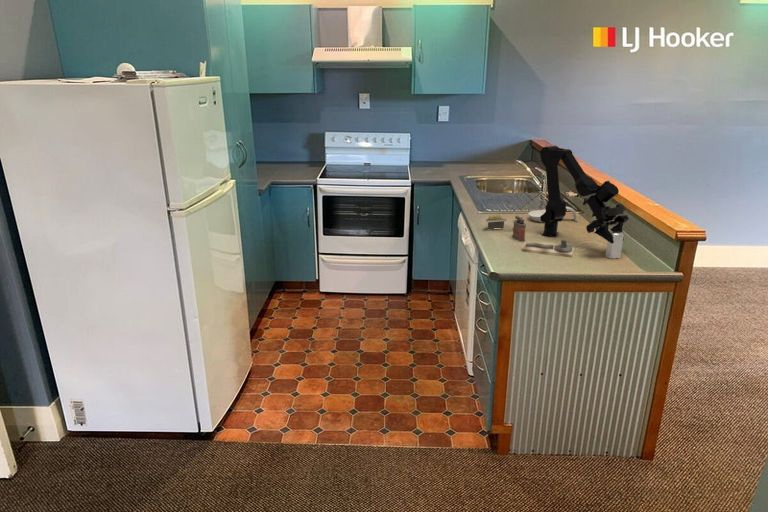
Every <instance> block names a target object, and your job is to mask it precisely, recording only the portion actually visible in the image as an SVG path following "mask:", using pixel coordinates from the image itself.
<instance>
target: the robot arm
mask: <svg viewBox="0 0 768 512" xmlns="http://www.w3.org/2000/svg"><path fill="white" fill-rule="evenodd" d="M539 157H540V159H541V163H542V164H543V165H544V167H545V173H546V185H547V187H546V188H547V195H548V196H547V197H548V201H547V203H546V205H545V209H546V212H545V213H544V214H543V215H542V216H540V219H541V221H542V222H541V223H543V224H544V225H543V231H542V234H541V236H544V237H545V236H547V237H554V238H555V237H558V235H559V232H558V226H559V225H558V224H559V222H563V219H564V218H565V216H566V215H567V211H568V210H566V206H567V203H566V201H564V202H563V200H562V199H561V191H560V190H561V189H560V182H559V178H560V177H559V170H558V169H559V168H558V166H559V164H560V161H561V162H562V163H563V165H564V166H565V167H566V169H567V171H568V172H569V174H570V175H571V178H572V179H573V180H574V187H575V190H576V193H577V194H578V195H579V196H580V197H586V198H584V199H583V203H582V206H587V205H588V207H589V209H590V210H591V212H592V214H591V217H592V218H595V219H594V220H593V221H591V222H590V223H588V224H587V225H586V231H587V233H588V234H590V233H591V234H592V233H593V234H596V235H598V236H599V237H601V238H602V239H604V240H605V241H606V242H607V241H608V242H610V243H611V244H612V243H614V241H613V238H612V236H611V234H610V232H609V231H620V232H623V226H624V224H625V223H627V222H628V221H629V220H630V218H629V217H628V215H627V214H625V213H624V212H625V211H626V208H625V206H624V205H623V204H622V203H619V204H617V205H615V207H611V206H607V205H606V204H605V203H608V202H610V201H611V200H612V199H613V198H615V197H616V196H617V195H618V194H619V188H618V187H617V186H616V185H615V184H614V183H612V182H611V181H610V180H605V181H604V182H603V183H602V184H601V185H599V184H597V182H596V181H595V179H593V178H592V177H591V176H589V175H588V174H586V173H585V171H584V169H583V168H582V167H581V165H580V164H579V162H578V161H577V158H576V157H575V156H574V154H573V151H572V150H571V149H569V148H563V147H559V146H557V145H548V146H547V145H546V146H543V147H542V148H541V149H540V151H539ZM609 226H611V228H610V230H609ZM623 233H624V232H623ZM624 240H625V238H624V237H623V242H624Z"/></svg>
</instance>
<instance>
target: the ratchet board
mask: <svg viewBox="0 0 768 512" xmlns="http://www.w3.org/2000/svg"><path fill="white" fill-rule="evenodd" d="M567 243H568V241H567V239H561V240H560V244H548V243H538V242H529V241H524V244H523V245H522V247H521V249H520V250H521V252H526V253H535V254H543V255H551V256H559V257H566V258H572V257H573V255H574V253H575V246H574V247H573V246H571V245H569V244H567Z"/></svg>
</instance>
